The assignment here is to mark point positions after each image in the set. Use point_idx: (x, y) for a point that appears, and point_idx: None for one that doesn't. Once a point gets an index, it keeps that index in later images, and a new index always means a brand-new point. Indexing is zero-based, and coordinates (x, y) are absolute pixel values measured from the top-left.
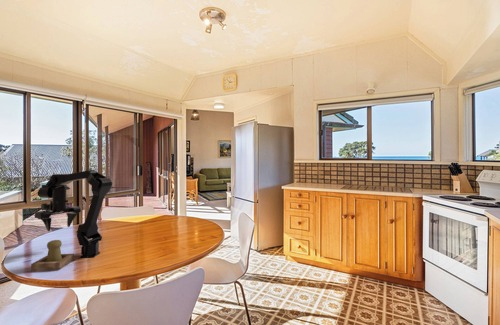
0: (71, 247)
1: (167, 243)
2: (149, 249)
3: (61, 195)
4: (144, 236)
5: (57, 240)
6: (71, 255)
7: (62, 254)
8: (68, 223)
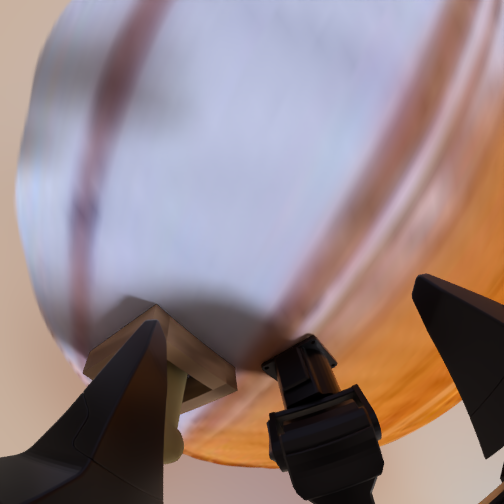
0: (349, 164)
1: (434, 388)
2: (390, 404)
3: None
4: (496, 295)
5: (164, 462)
6: (218, 398)
7: (198, 371)
8: (440, 319)
